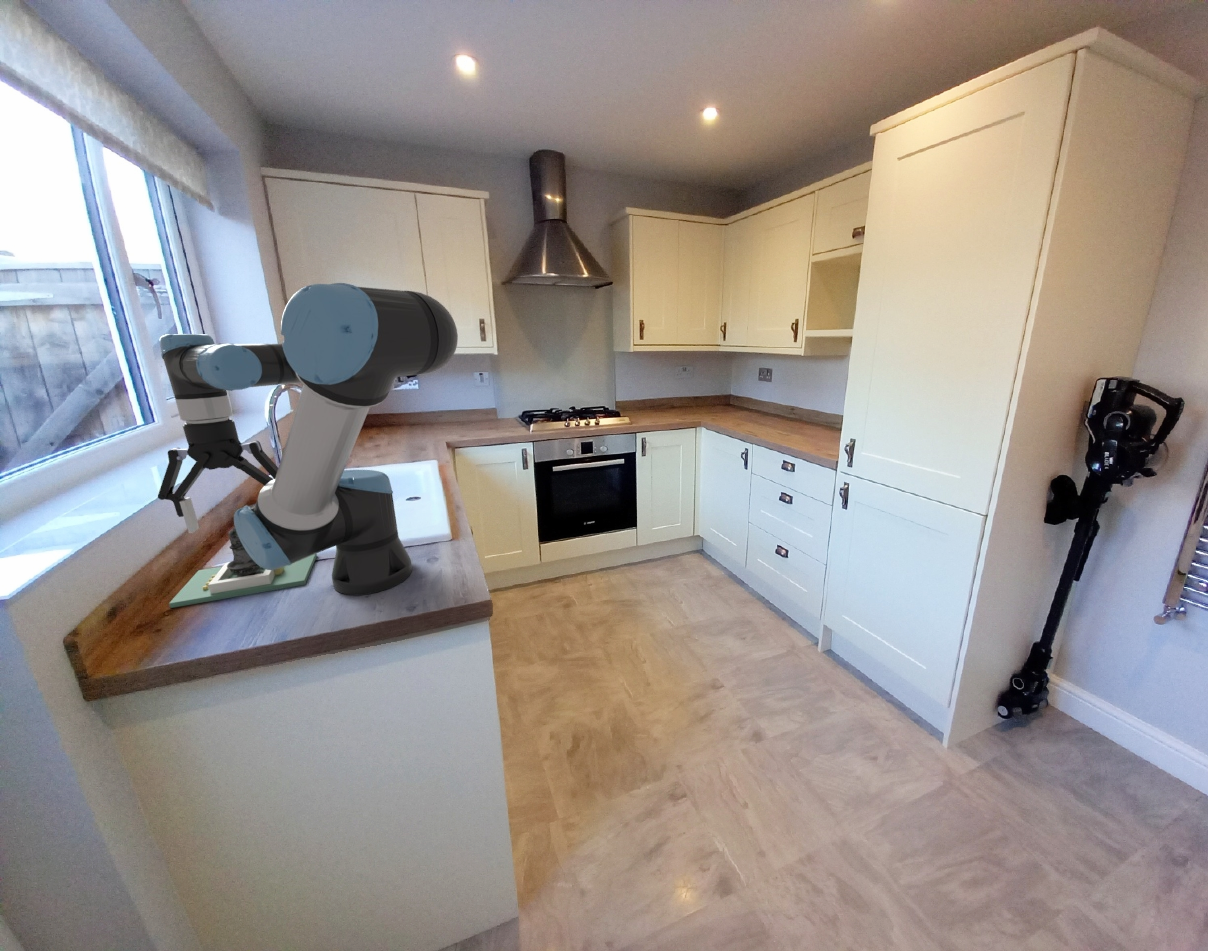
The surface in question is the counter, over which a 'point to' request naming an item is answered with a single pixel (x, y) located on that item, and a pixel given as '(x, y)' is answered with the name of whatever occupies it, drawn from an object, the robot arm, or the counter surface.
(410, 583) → the counter surface
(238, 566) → the dark grey tiered ornament
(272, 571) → the header board
